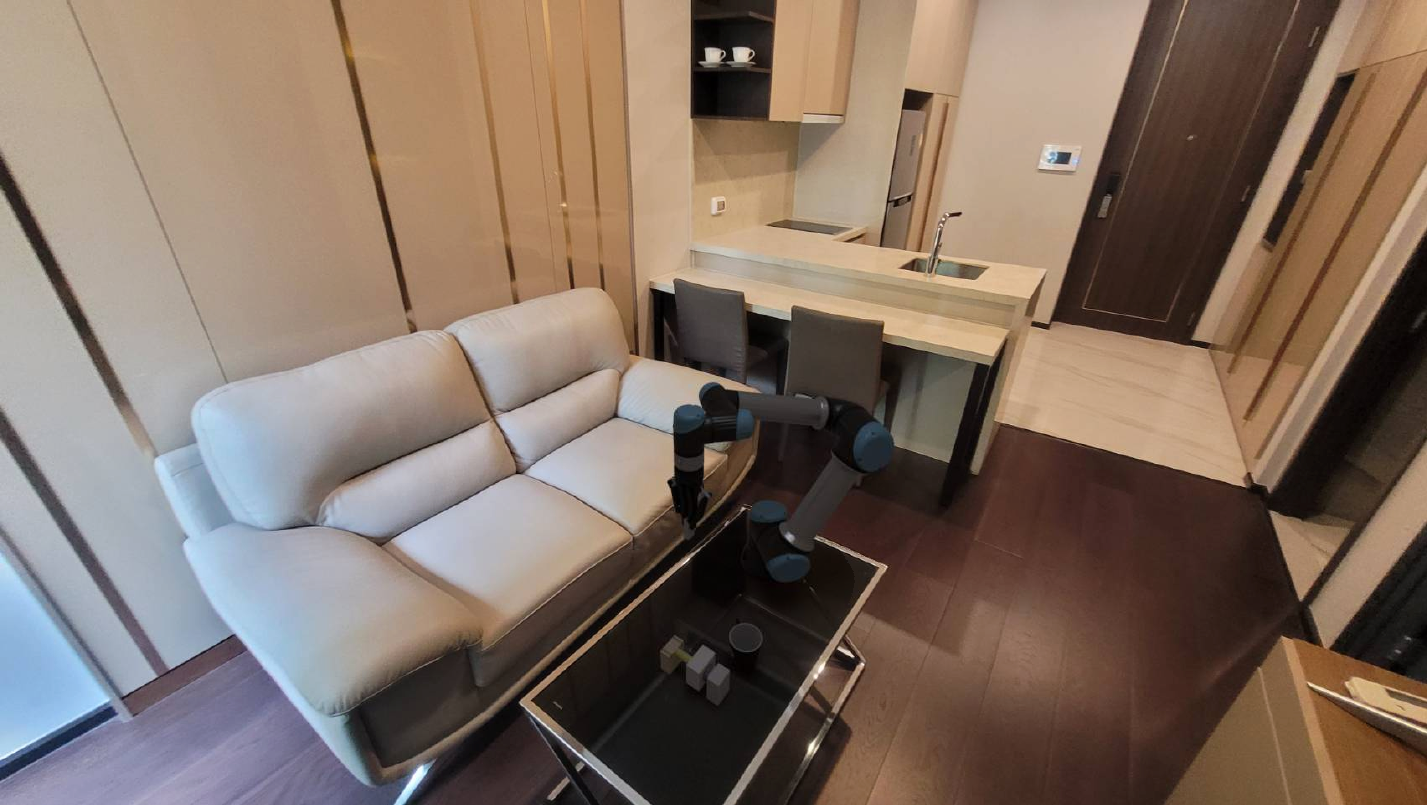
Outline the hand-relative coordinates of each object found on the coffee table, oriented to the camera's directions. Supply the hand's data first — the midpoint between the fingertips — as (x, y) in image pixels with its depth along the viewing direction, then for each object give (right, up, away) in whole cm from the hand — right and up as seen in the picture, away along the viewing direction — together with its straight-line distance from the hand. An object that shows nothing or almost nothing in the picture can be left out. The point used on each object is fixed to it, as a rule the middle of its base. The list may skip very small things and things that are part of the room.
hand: (689, 536), depth 140 cm
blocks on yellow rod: (+2, -36, -5) cm, 36 cm away
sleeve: (+3, -34, -7) cm, 35 cm away
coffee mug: (+15, -33, +1) cm, 37 cm away
